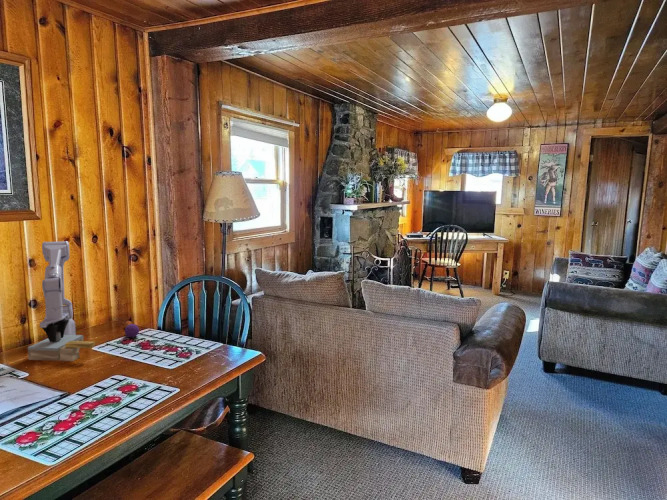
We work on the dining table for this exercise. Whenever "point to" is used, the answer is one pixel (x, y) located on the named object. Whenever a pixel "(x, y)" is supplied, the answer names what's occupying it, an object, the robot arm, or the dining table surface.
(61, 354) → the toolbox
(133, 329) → the kendama
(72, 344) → the yellow rectangular block
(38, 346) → the lid
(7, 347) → the dining table surface
